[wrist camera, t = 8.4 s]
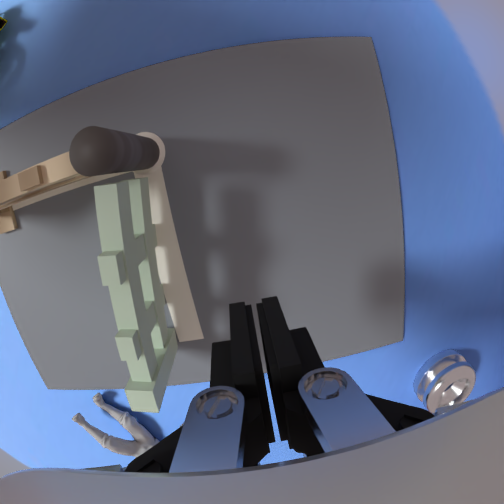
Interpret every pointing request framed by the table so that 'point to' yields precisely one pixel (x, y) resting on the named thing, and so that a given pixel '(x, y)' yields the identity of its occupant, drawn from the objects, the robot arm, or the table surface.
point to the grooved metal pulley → (444, 380)
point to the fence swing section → (135, 289)
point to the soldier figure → (139, 433)
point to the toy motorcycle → (2, 23)
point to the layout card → (219, 207)
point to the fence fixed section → (77, 166)
